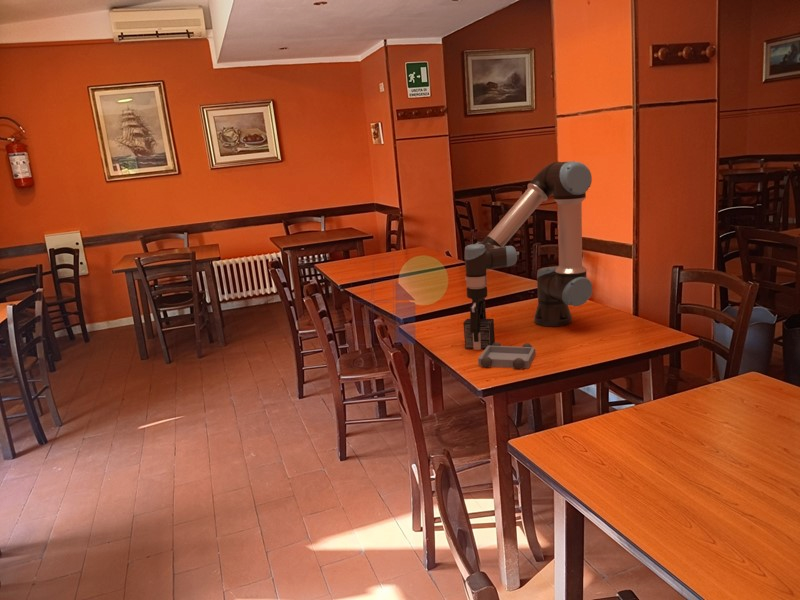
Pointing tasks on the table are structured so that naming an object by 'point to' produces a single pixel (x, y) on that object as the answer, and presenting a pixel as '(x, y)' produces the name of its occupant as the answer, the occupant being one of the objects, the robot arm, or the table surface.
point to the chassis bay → (507, 356)
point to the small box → (485, 333)
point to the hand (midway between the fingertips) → (479, 346)
